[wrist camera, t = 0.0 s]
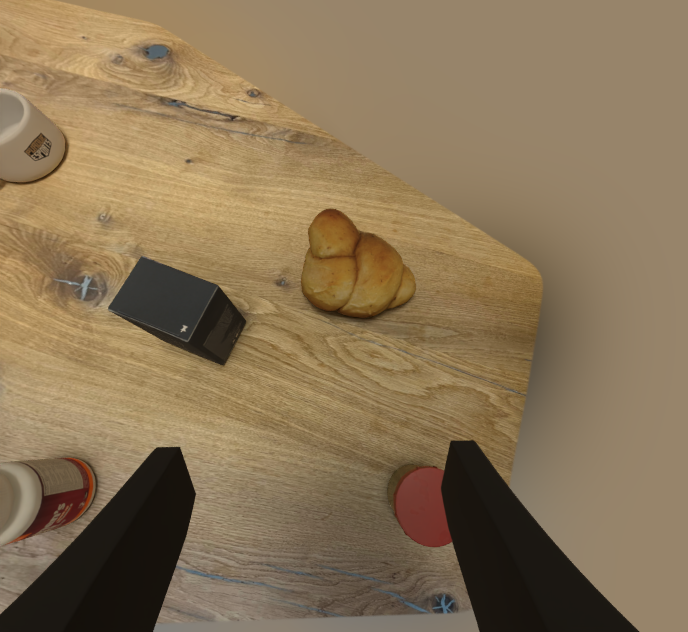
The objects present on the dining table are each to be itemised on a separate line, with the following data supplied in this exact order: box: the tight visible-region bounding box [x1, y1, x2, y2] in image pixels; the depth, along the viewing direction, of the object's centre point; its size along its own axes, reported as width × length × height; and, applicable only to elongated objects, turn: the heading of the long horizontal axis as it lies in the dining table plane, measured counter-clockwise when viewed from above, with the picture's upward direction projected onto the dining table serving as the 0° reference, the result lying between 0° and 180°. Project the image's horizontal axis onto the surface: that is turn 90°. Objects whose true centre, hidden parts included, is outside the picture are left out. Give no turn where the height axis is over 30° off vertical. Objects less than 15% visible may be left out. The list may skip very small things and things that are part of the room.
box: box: [108, 256, 246, 365], centre depth 37 cm, size 8×6×11 cm
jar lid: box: [393, 466, 452, 547], centre depth 31 cm, size 6×6×1 cm
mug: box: [0, 88, 65, 182], centre depth 45 cm, size 12×10×6 cm
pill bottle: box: [0, 458, 96, 546], centre depth 31 cm, size 6×6×11 cm
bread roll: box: [301, 209, 416, 318], centre depth 40 cm, size 13×10×8 cm
